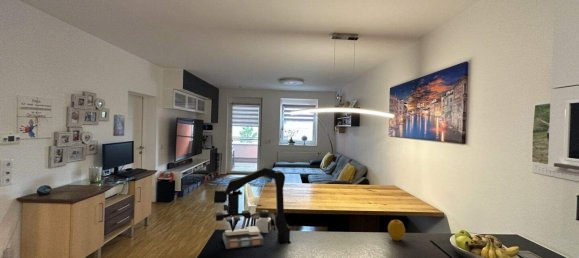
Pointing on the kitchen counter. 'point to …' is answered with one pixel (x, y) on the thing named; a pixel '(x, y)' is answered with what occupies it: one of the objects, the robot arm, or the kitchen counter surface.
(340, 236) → the kitchen counter surface
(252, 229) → the rocker
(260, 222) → the medicine bottle
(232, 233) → the rocker
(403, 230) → the yellow oval fruit
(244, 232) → the rocker
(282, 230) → the robot arm
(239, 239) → the switch box
